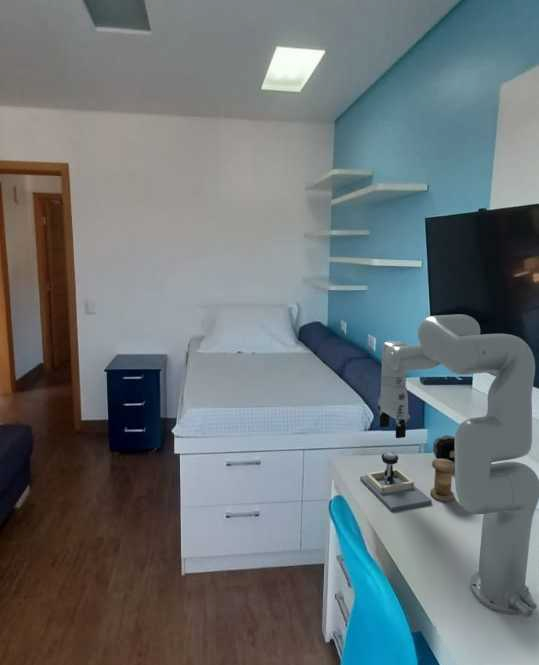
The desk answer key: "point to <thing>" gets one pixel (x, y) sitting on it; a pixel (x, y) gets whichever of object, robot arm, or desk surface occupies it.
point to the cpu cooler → (445, 448)
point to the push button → (389, 466)
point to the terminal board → (395, 490)
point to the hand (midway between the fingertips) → (392, 431)
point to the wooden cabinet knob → (443, 480)
